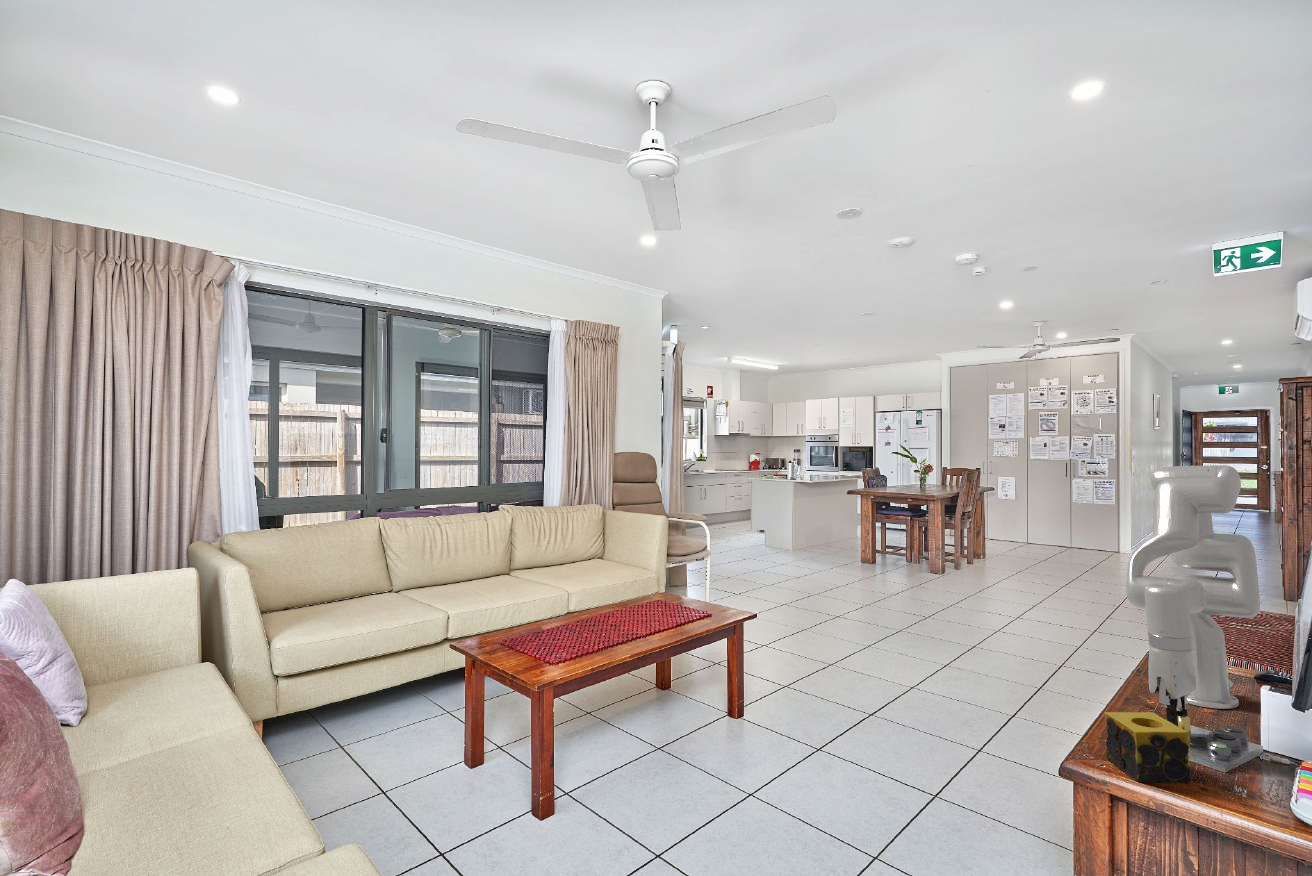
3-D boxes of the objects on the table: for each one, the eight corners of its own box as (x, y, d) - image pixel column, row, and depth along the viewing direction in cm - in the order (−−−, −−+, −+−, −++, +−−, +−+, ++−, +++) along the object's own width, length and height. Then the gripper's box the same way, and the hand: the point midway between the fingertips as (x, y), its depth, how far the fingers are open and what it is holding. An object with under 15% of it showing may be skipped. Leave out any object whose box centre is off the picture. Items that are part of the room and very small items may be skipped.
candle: (1105, 759, 132) (1101, 711, 133) (1157, 759, 131) (1152, 711, 132) (1137, 784, 122) (1133, 731, 123) (1193, 784, 121) (1188, 731, 122)
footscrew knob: (1232, 742, 134) (1229, 714, 134) (1247, 752, 129) (1244, 723, 129) (1174, 738, 136) (1171, 711, 137) (1186, 749, 132) (1184, 721, 132)
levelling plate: (1185, 729, 145) (1183, 711, 145) (1264, 752, 132) (1262, 732, 132) (1145, 746, 137) (1143, 727, 138) (1225, 772, 125) (1223, 751, 125)
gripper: (1168, 632, 144) (1175, 712, 144) (1132, 644, 138) (1139, 729, 137) (1208, 639, 138) (1216, 724, 137) (1172, 652, 131) (1180, 741, 130)
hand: (1177, 726), depth 137 cm, fingers closed
